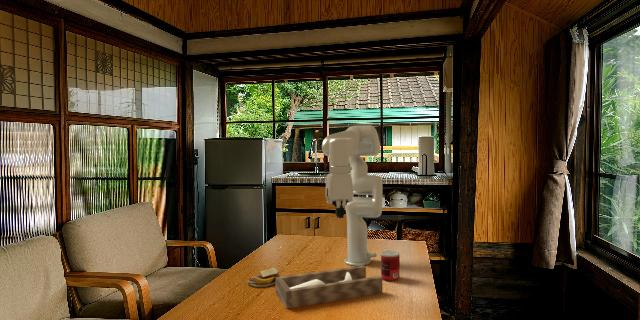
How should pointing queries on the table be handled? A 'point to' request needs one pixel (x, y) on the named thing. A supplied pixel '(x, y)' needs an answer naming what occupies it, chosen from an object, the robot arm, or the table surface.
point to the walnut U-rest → (326, 286)
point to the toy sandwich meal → (264, 278)
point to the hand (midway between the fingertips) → (340, 217)
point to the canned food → (390, 266)
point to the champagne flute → (319, 282)
